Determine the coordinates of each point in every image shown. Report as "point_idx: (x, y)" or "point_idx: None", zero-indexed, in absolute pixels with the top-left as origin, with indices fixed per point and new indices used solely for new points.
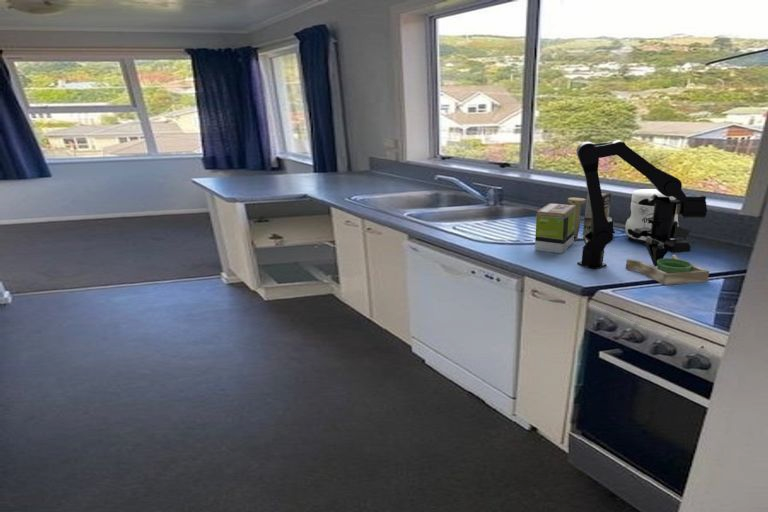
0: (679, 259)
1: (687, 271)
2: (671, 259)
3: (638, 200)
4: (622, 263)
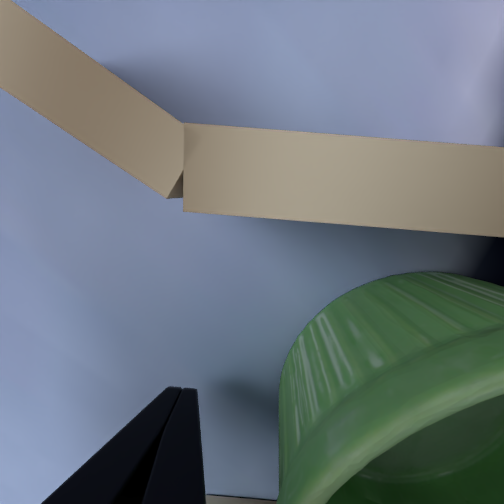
0: (485, 395)
1: None
2: (347, 468)
3: None
4: (11, 494)
